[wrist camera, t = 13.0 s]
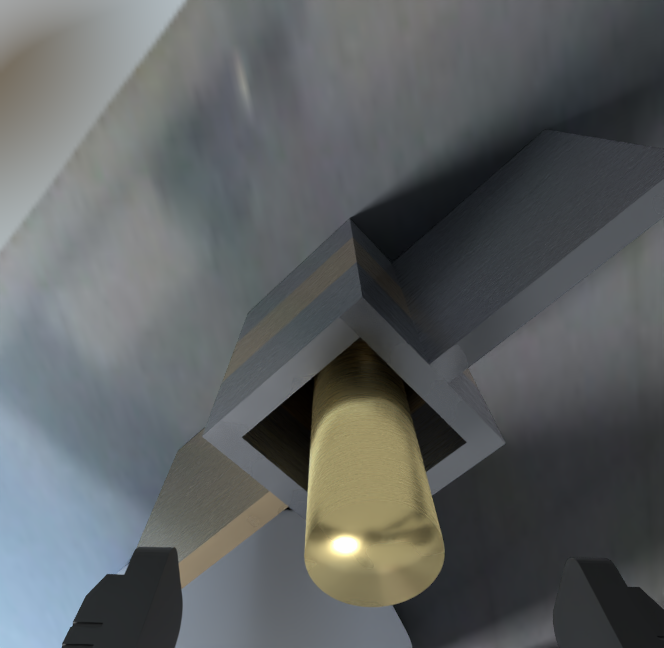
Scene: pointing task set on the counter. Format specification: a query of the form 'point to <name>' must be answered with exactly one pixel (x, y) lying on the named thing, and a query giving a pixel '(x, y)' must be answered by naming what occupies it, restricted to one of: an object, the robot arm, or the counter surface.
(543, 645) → the counter surface
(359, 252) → the hinge
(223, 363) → the counter surface
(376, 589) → the hinge pin
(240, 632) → the plastic bottle
